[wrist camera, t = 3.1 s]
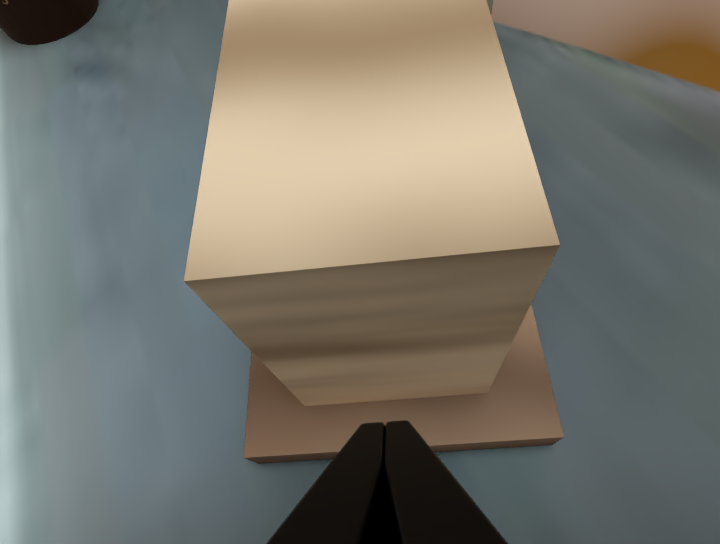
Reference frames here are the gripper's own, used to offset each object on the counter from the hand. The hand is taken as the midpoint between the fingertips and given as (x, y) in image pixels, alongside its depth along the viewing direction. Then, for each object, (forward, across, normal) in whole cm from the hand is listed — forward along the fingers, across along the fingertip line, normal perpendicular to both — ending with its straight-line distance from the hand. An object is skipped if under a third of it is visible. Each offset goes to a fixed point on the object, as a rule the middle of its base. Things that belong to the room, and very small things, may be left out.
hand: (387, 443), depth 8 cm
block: (+10, 0, 0) cm, 10 cm away
